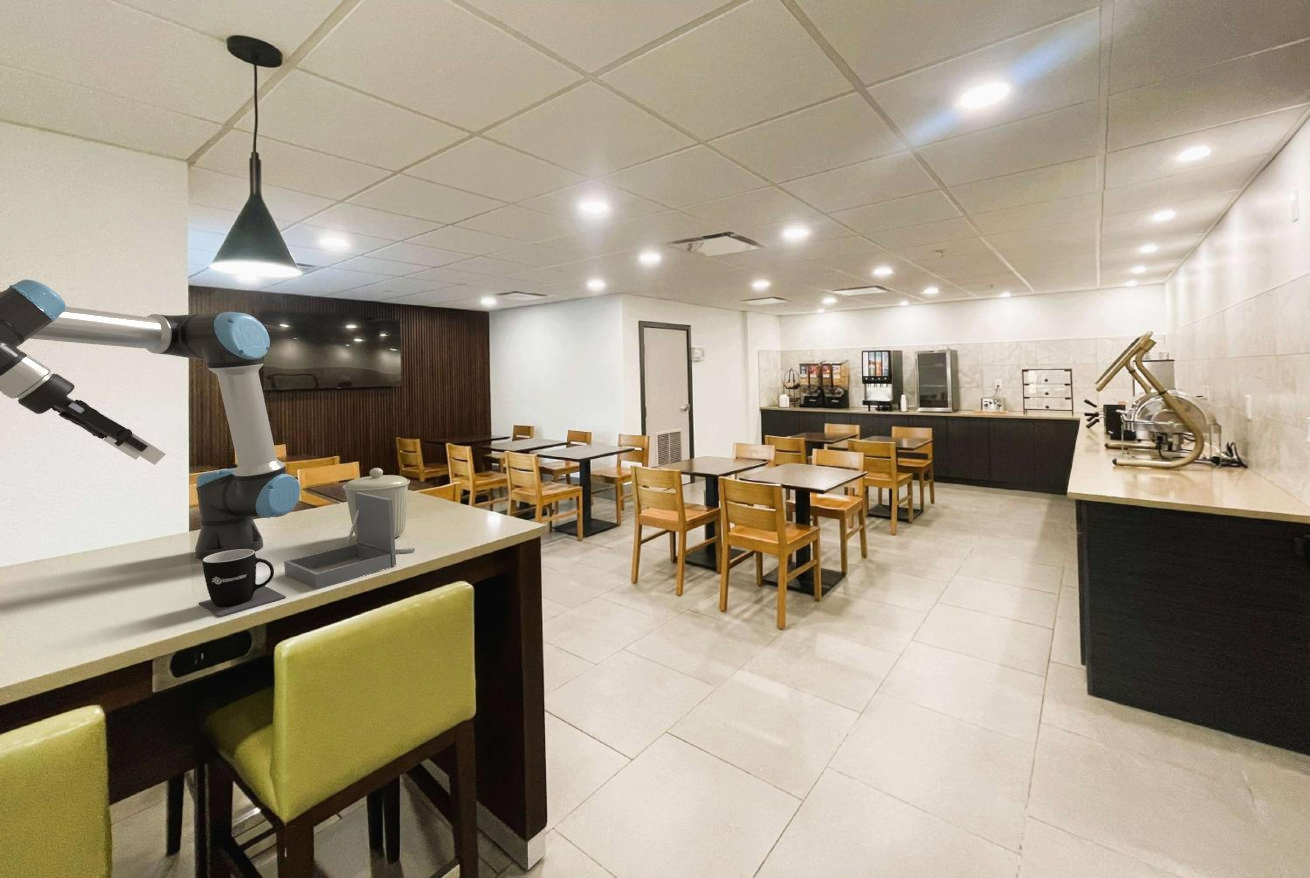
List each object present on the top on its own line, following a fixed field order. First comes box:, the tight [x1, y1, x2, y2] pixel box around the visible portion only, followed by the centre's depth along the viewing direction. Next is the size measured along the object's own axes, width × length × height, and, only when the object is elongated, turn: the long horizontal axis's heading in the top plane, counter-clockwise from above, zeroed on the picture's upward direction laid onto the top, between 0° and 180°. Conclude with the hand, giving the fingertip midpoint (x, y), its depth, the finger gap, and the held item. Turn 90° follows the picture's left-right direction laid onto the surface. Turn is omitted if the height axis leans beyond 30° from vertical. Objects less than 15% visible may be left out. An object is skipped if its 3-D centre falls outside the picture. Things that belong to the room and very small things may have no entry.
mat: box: [198, 585, 287, 618], centre depth 121 cm, size 12×12×1 cm
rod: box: [395, 547, 416, 554], centre depth 153 cm, size 12×1×1 cm, turn 102°
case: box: [283, 492, 397, 590], centre depth 139 cm, size 17×19×17 cm
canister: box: [342, 467, 411, 539], centre depth 168 cm, size 18×18×21 cm
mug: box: [202, 549, 275, 607], centre depth 120 cm, size 12×9×10 cm
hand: (150, 456), depth 117 cm, fingers open, 13 cm apart
